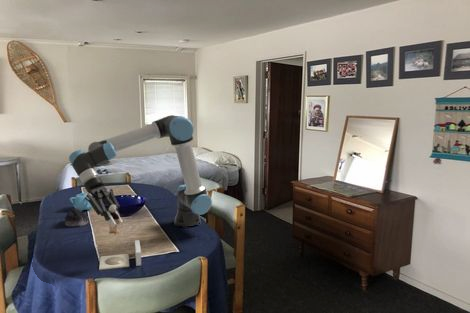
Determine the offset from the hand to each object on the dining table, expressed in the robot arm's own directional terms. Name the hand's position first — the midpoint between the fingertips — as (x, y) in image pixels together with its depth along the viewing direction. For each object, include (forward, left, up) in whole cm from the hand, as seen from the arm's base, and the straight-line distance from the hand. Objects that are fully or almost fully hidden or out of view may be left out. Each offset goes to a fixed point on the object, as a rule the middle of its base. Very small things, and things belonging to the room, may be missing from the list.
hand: (117, 224), depth 151 cm
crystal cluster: (+23, -58, -18) cm, 65 cm away
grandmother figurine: (+2, -2, -5) cm, 6 cm away
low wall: (-8, -3, -18) cm, 20 cm away
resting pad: (+2, -2, -18) cm, 18 cm away
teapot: (+21, -84, -18) cm, 89 cm away
